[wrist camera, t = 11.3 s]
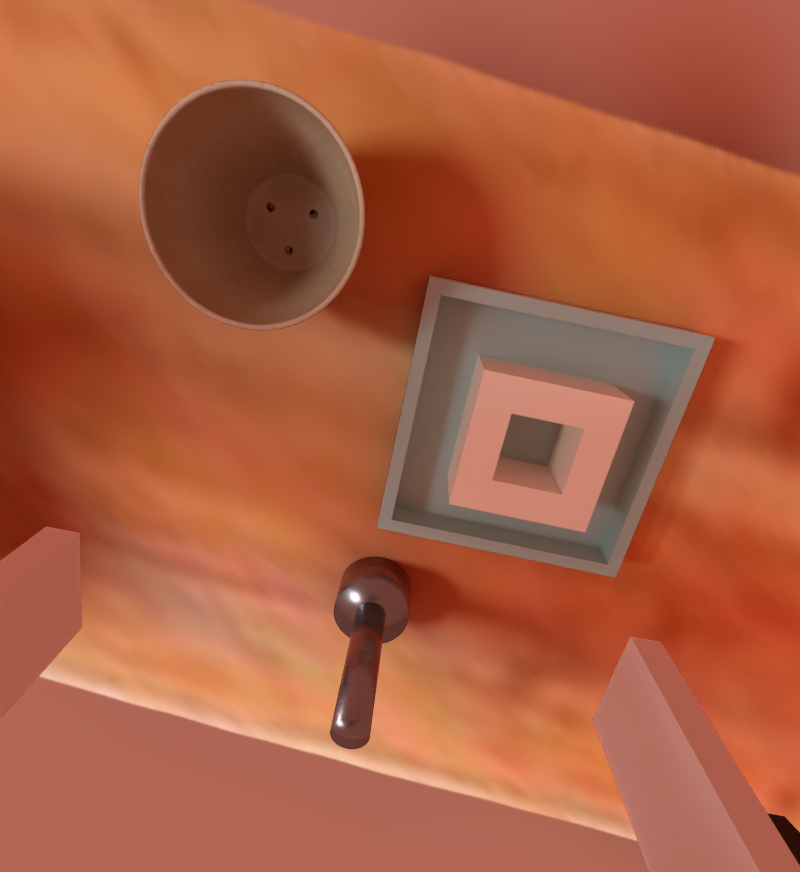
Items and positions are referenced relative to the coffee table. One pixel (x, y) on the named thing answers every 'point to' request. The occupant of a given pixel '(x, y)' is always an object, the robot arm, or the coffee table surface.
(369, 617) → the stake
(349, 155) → the flower pot
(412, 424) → the tray
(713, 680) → the coffee table surface
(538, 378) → the ring
